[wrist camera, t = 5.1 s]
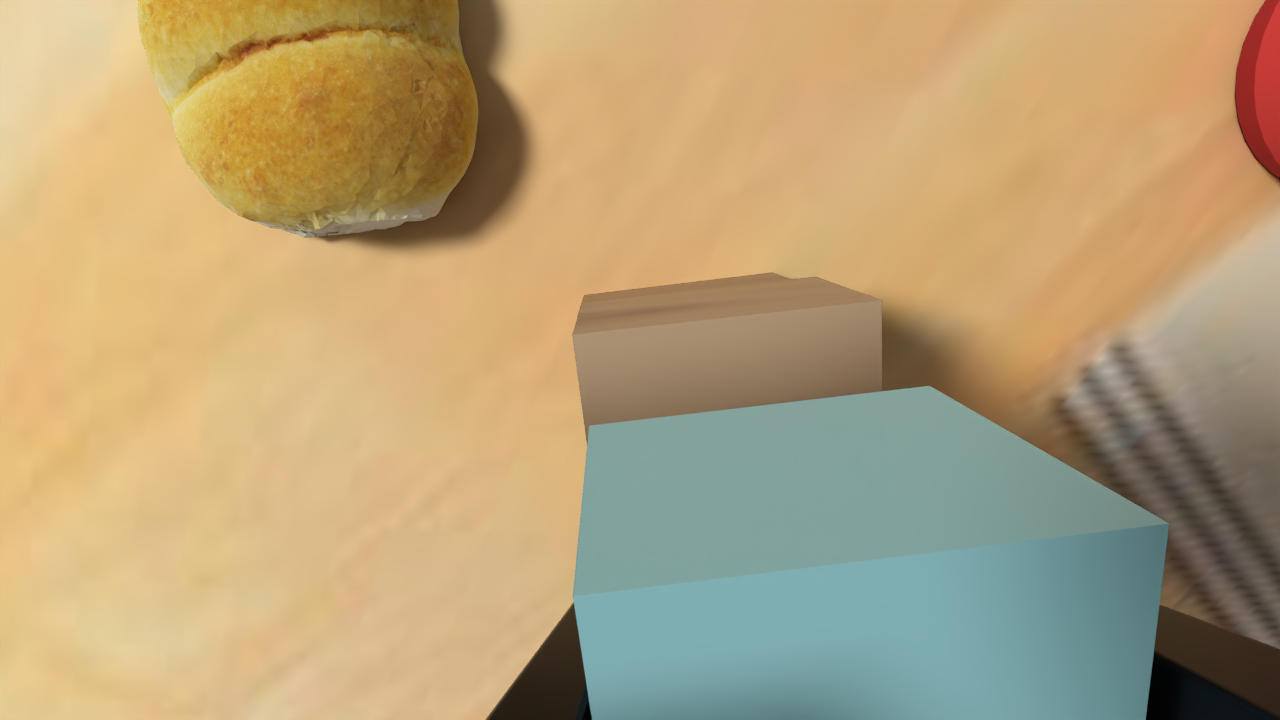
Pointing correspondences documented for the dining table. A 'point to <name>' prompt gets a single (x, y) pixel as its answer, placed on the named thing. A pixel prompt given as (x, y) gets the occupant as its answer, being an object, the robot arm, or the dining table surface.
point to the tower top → (725, 349)
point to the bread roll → (317, 106)
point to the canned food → (1261, 86)
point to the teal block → (858, 569)
